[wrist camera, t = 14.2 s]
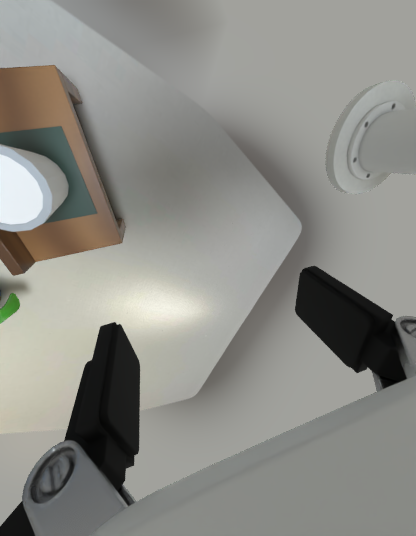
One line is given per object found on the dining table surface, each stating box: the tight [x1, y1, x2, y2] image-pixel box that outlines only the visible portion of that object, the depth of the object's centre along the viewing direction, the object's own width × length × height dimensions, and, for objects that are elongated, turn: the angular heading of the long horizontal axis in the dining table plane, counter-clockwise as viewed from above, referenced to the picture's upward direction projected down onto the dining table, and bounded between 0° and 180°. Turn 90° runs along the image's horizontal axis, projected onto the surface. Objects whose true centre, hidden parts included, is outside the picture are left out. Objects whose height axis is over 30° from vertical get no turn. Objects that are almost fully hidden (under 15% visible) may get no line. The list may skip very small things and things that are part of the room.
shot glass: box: [0, 144, 69, 232], centre depth 19 cm, size 7×7×7 cm
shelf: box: [0, 65, 126, 276], centre depth 24 cm, size 12×18×10 cm, turn 7°
